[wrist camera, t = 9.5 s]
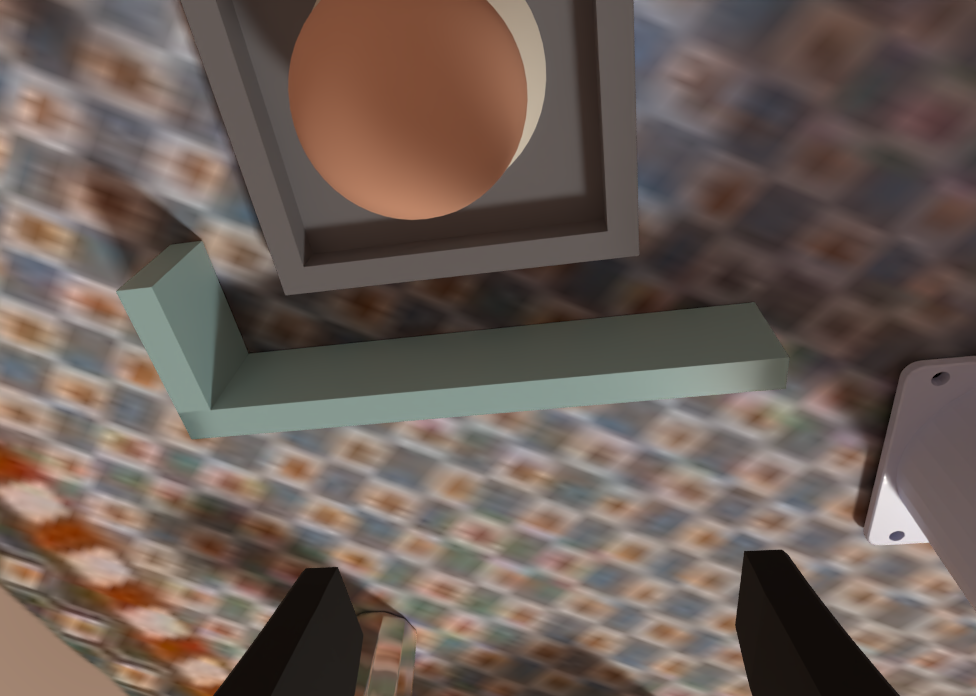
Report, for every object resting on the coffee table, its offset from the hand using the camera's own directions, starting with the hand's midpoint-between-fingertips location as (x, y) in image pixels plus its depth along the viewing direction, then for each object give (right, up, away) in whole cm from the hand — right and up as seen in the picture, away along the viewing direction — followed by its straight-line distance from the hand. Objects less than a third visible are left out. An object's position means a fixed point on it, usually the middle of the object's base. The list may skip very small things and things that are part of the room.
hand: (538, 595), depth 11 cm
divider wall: (-2, +6, +8) cm, 10 cm away
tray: (-2, +11, +5) cm, 12 cm away
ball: (-2, +11, +4) cm, 12 cm away
